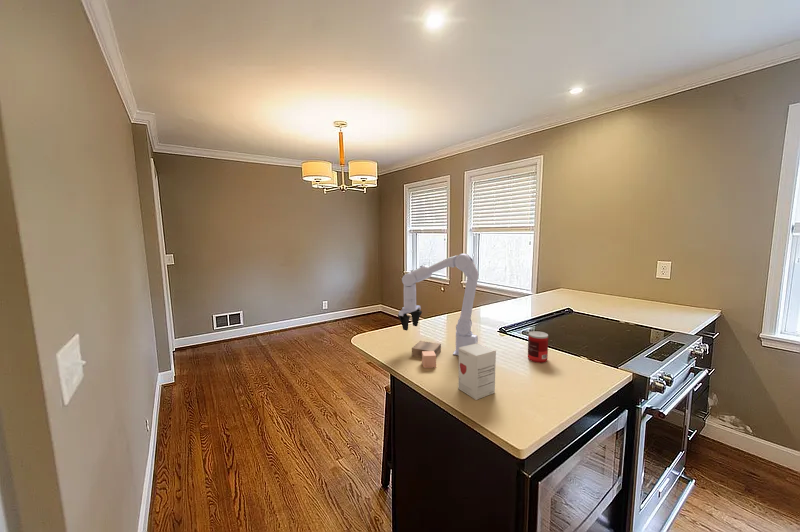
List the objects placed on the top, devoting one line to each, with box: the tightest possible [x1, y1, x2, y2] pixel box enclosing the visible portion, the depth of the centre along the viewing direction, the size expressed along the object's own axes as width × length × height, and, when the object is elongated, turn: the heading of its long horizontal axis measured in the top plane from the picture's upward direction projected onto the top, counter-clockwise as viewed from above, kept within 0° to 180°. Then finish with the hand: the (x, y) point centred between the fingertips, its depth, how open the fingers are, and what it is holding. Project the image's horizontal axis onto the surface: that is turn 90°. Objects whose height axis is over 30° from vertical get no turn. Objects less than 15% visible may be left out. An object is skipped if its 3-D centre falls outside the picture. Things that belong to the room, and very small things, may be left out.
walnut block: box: [411, 340, 442, 359], centre depth 144 cm, size 10×10×4 cm
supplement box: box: [457, 342, 497, 401], centre depth 110 cm, size 9×9×15 cm
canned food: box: [527, 330, 549, 364], centre depth 136 cm, size 8×8×11 cm
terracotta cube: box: [421, 351, 437, 369], centre depth 132 cm, size 5×5×5 cm
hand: (410, 327), depth 150 cm, fingers open, 7 cm apart
